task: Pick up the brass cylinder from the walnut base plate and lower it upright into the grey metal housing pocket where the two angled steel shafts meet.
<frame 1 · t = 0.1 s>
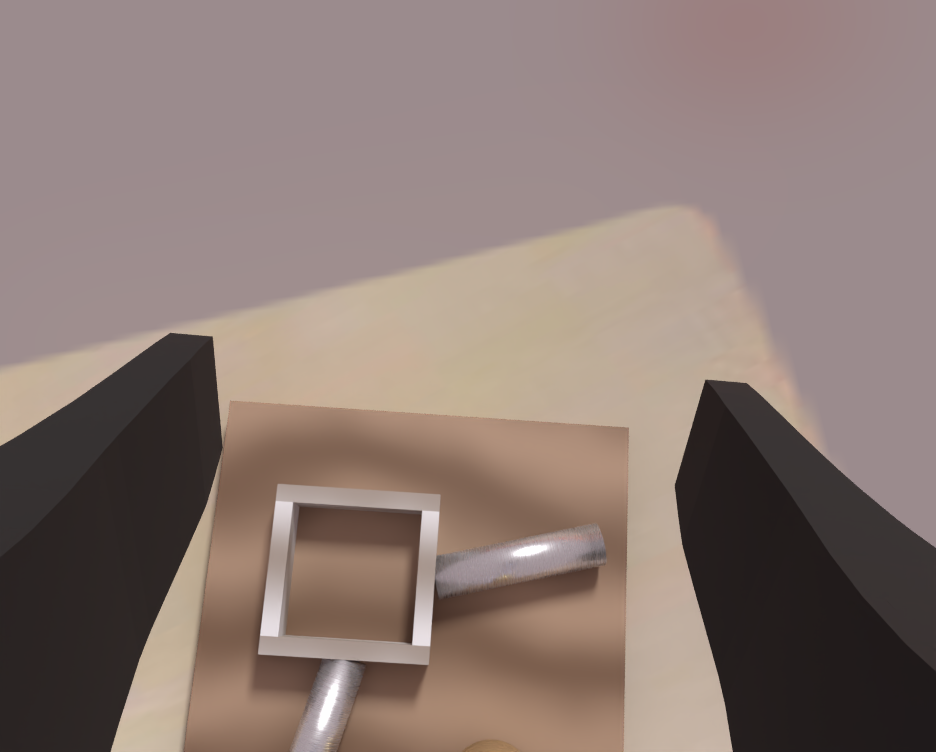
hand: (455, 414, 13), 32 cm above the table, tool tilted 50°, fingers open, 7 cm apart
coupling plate: (414, 641, 43), on the table
shaft B: (513, 563, 44), resting on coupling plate
shaft A: (317, 750, 41), resting on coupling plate
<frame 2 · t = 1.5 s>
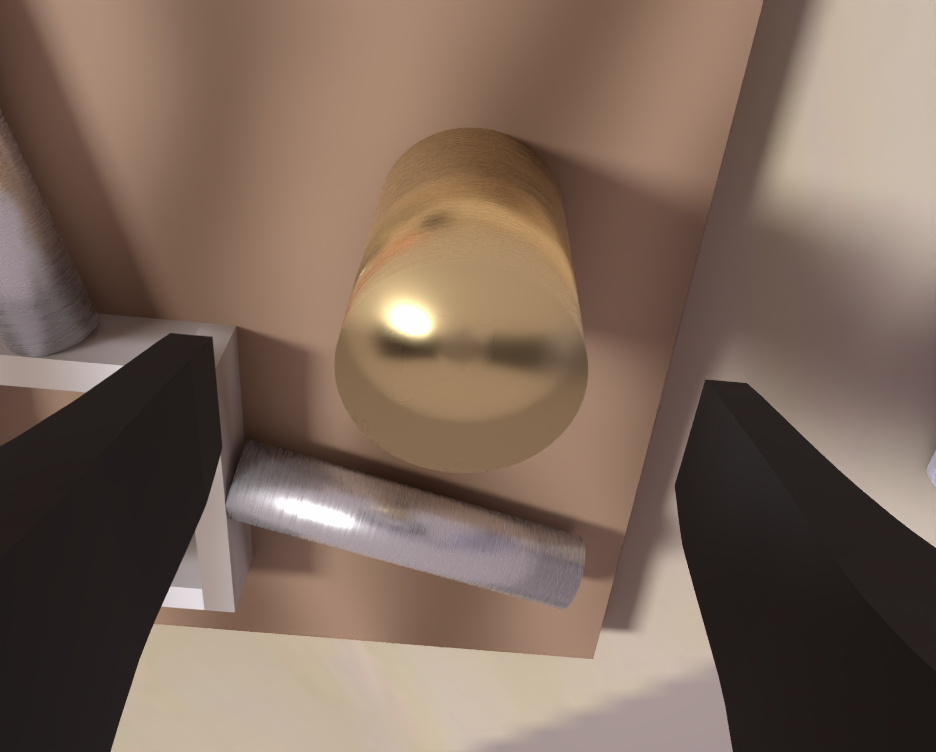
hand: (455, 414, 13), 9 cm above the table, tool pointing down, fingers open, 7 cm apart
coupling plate: (221, 319, 22), on the table
shaft B: (23, 122, 19), resting on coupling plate
shaft A: (415, 463, 25), resting on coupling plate
brass cylinder: (470, 219, 19), point 1 cm above the table, touching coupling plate
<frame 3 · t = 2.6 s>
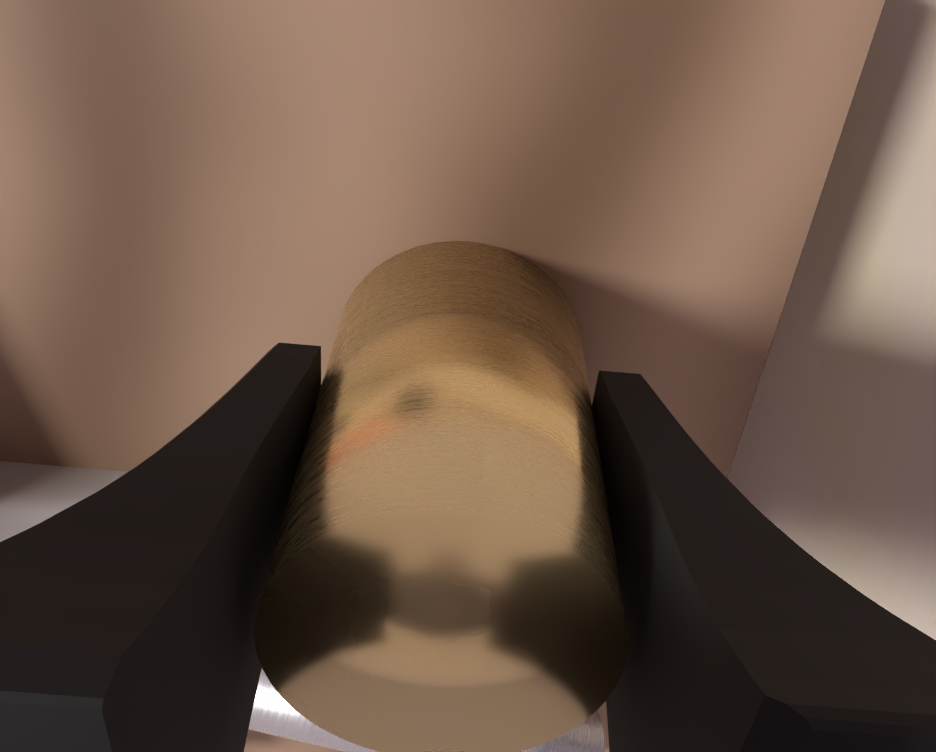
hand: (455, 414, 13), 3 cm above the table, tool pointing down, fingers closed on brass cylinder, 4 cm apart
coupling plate: (149, 452, 18), on the table
shaft A: (395, 611, 20), resting on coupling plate
brass cylinder: (459, 352, 14), point 1 cm above the table, touching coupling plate, gripper
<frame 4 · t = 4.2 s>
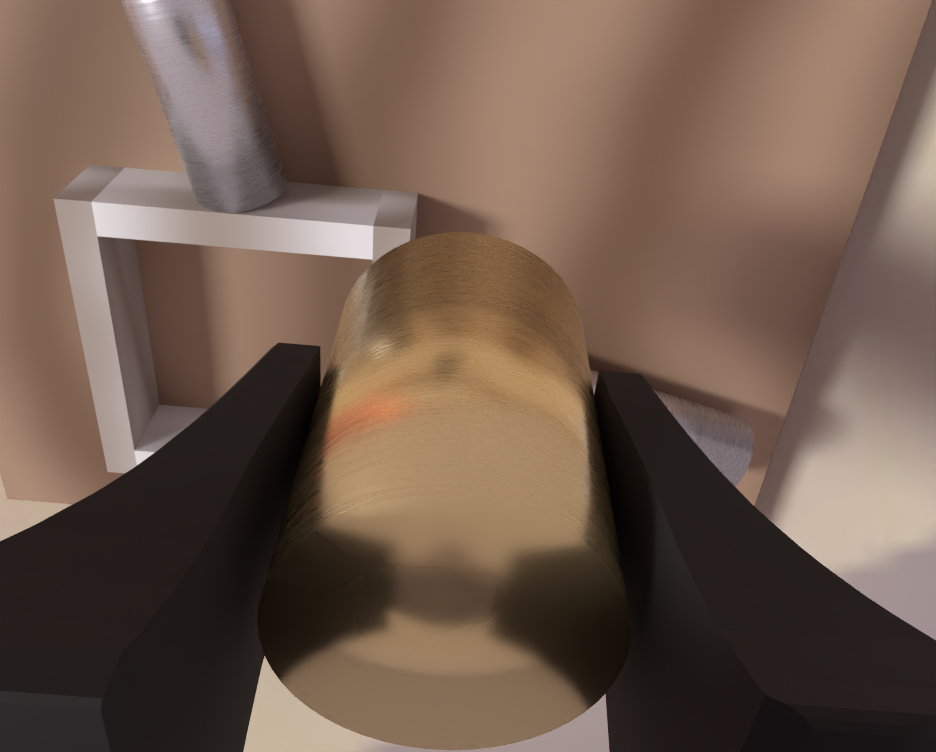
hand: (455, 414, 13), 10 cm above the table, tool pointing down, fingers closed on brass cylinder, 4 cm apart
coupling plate: (389, 197, 22), on the table
shaft A: (569, 352, 25), resting on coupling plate
brass cylinder: (461, 344, 14), point 9 cm above the table, touching gripper
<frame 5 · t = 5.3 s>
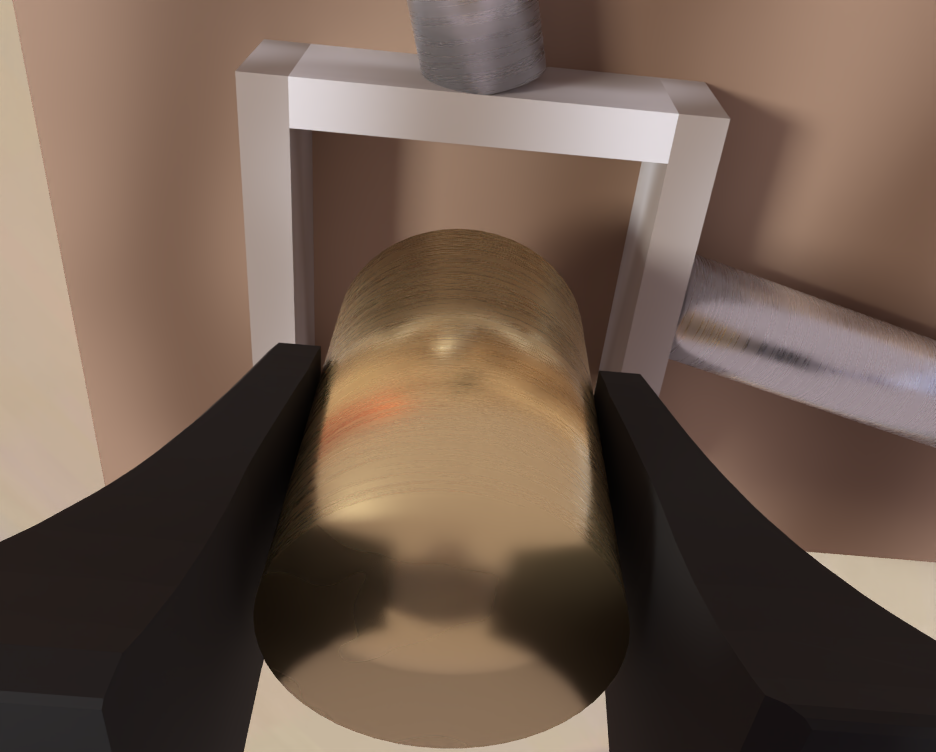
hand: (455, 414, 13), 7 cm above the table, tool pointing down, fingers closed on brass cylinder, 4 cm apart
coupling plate: (638, 98, 17), on the table
shaft A: (833, 310, 19), resting on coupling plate
brass cylinder: (459, 341, 14), point 5 cm above the table, touching gripper
when the fingers open (4 cm above the table, at t = 6.1 s): brass cylinder stays where it is, resting on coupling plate.
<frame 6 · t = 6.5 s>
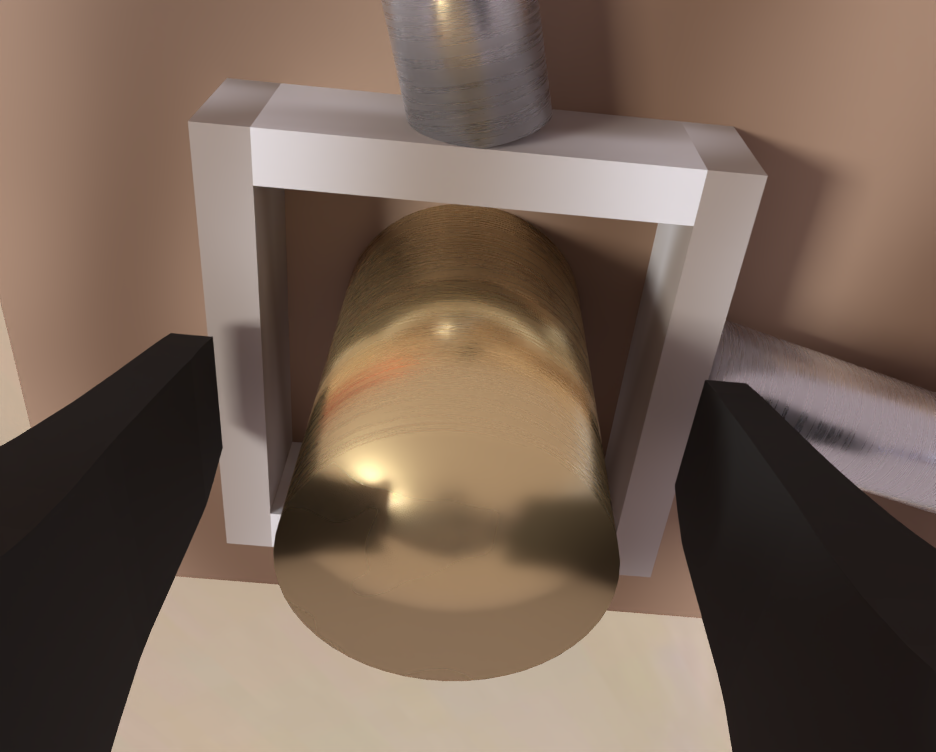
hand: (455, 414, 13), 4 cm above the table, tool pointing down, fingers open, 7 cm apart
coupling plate: (654, 139, 15), on the table
shaft A: (869, 369, 17), resting on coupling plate
brass cylinder: (462, 312, 15), point 2 cm above the table, touching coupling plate
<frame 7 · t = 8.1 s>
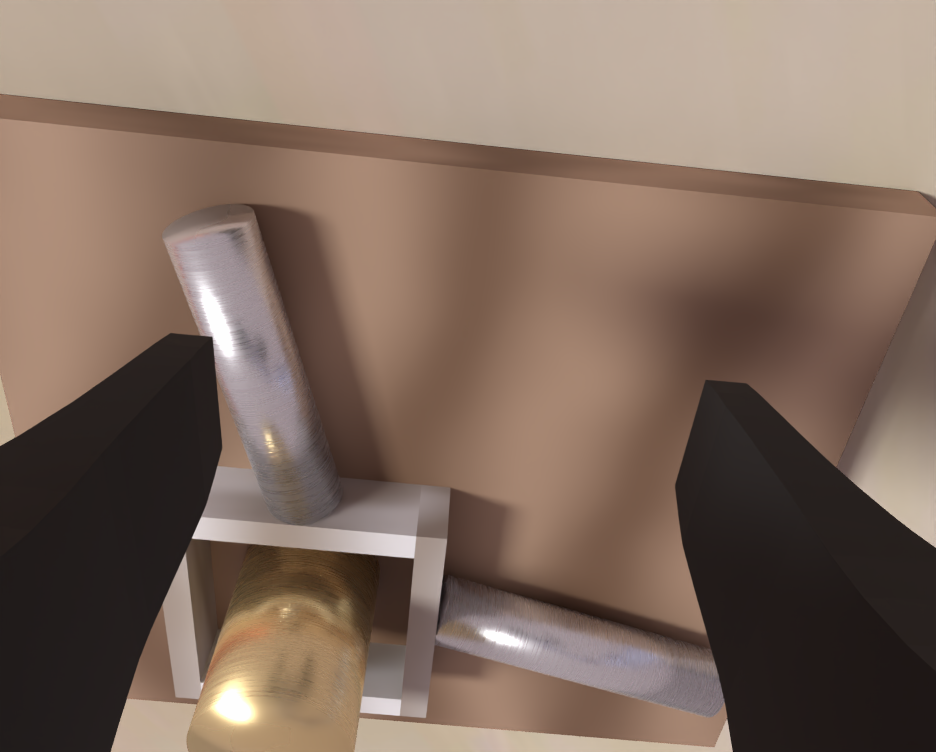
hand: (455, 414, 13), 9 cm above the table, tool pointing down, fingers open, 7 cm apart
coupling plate: (423, 471, 26), on the table
shaft B: (283, 322, 23), resting on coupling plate
shaft A: (572, 584, 28), resting on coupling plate
brass cylinder: (313, 567, 26), point 2 cm above the table, touching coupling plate
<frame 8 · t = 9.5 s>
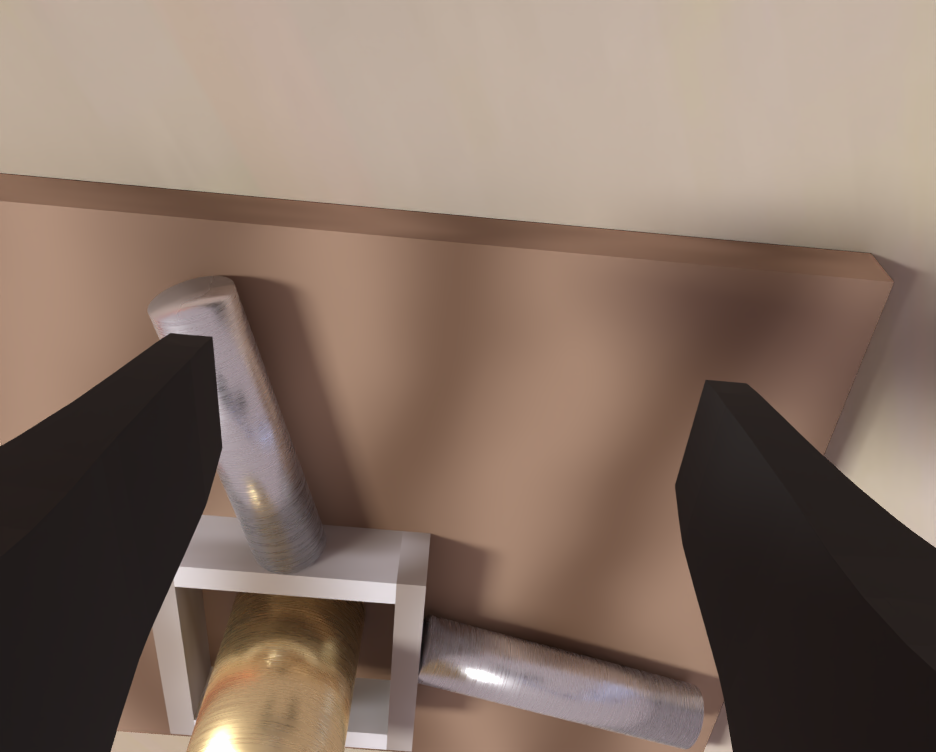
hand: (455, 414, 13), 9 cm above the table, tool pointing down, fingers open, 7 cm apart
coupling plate: (405, 515, 27), on the table
shaft B: (267, 379, 24), resting on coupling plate
shaft A: (553, 619, 29), resting on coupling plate
brass cylinder: (300, 608, 27), point 2 cm above the table, touching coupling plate
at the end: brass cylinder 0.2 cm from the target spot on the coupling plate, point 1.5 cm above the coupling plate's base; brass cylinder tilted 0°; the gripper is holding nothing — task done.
